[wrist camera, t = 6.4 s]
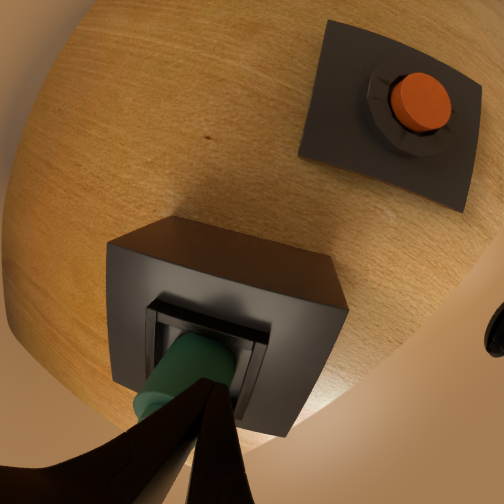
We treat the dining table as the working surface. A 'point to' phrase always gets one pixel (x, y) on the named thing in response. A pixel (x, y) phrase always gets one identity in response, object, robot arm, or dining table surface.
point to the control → (389, 118)
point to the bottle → (184, 371)
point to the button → (421, 103)
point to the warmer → (225, 312)
